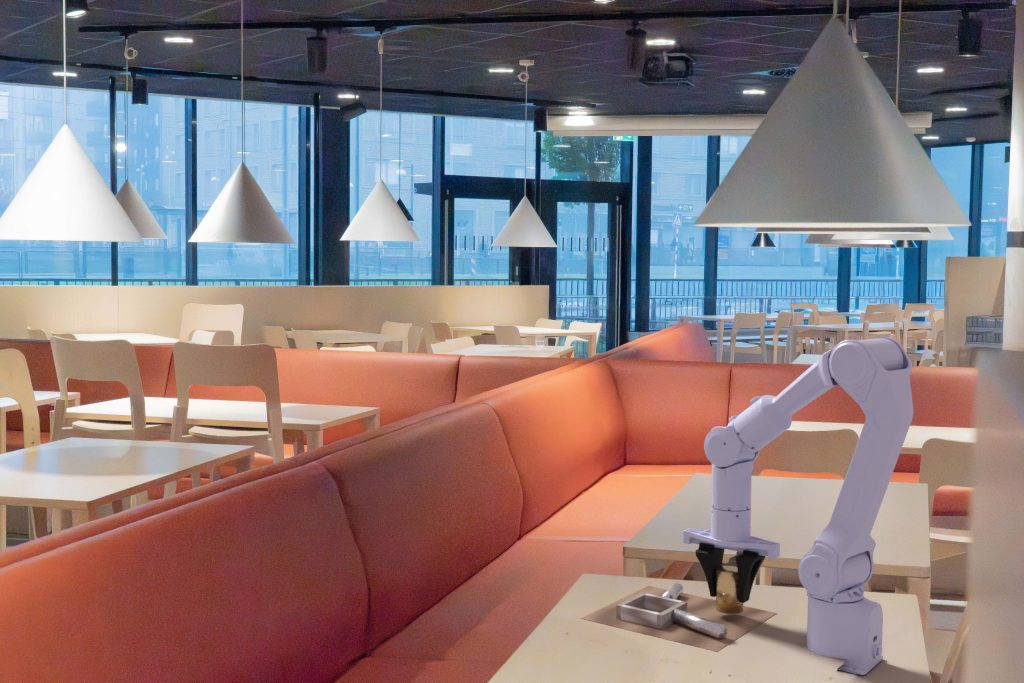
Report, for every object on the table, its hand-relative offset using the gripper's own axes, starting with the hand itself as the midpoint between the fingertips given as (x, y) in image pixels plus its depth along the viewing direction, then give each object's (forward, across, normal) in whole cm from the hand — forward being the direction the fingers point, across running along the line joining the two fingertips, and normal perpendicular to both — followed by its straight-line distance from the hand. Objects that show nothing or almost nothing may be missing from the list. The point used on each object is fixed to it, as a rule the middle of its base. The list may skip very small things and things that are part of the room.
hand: (729, 598), depth 158 cm
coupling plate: (+4, +6, +4) cm, 8 cm away
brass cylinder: (+2, 0, 0) cm, 2 cm away
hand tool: (+5, +9, -21) cm, 23 cm away
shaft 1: (+3, +10, -1) cm, 10 cm away
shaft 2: (+3, +1, +8) cm, 9 cm away
